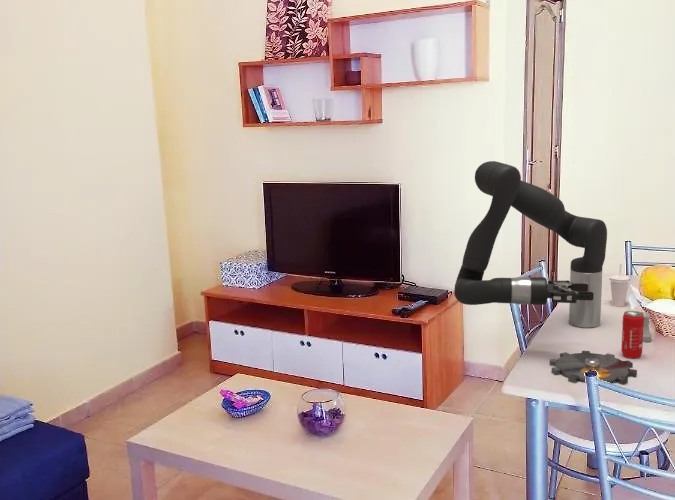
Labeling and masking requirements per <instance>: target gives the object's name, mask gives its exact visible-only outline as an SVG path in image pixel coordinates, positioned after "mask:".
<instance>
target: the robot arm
mask: <svg viewBox="0 0 675 500" xmlns="http://www.w3.org/2000/svg"><path fill="white" fill-rule="evenodd" d="M474 182H475V184H476V187H477V188H478V189H479V191H480V192H482V193H483V194H485V195H488V196H491V197H492V199H491V203H490V205H489V209H488V210H487V213H486V214H485V216H484V217H483V219H482V220H481V221H480V222H479V223H478V225H477V226H476V227H475V228H474V229H473V231H472V232H471V233H470V236H469V237H468V240H467V243H466V245H465V250H464V255H463V257H462V262H461V266H460V268H459V269H460V270H459V271H458V274H457V278H456V280H455V284H454V291H453V293H454V297H455V299H456V300H457V301H458V302H459V303H460V304H462V305H466V306H467V305H468V306H476V305H487V304H493V303H494V304H514V305H534V306H535V305H539V306H540V305H541V306H545V305H546V304H547V302H548V299H552V303H559V304H561V303H562V304H568V305H569V307H568V308H569V309H568V313H569V314H568V317H569V318H568V323H569V324H570V325H571V326H575V327H578V328H586V329H587V328H595V327H599V326H601V317H602V316H601V315H602V292H603V290H602V288H603V268H604V267H603V266H604V263H605V260H606V252H607V241H608V228H607V224H606V223H605V222H604V221H603V219H598V218H597V219H596V218H591V217H585V216H584V217H583V216H577V215H575V214H573V213H570V212H568V211H567V210H566V208H565V204H564V203H563V201H562V200H561V199H560V198H558V197H557V196H556V195H554V194H553V193H551V192H550V191H548V190H546V189H544V188H541V187H540V186H537V185H535V184H532V183H529V182H526V181H524V180H522V177H521V172H520V171H519V169H518V168H517V167H516V166H514V165H510V164H507V163H502V162H499V161H495V160H492V161H491V160H490V161H485V162H483V163H482V164H480V165H479V166H478V167H477V168H476V170H475V172H474ZM511 207H512V208H513V209H515V210H516V211H518V212H519V213H521V214H522V215H523V216H525V217H526V218H528V219H529V220H532V221H533V222H535V223H537V224H538V225H540V226H542V227H544V228H546V229H547V230H551V231H553V232H554V233H555V234H557V236H559V237H561V238H562V239H563V240H564V241H566V242H567V243H568V244H569V245H571V246H574V247H577V248H582V249H584V250H583V251H584V252H583V256H581V257H577V258H572V260H571V261H570V267H569V269H570V271H569V273H570V277H569V280H548V281H547V278H546V277H545V276H544V277H543V276H540V277H539V276H533V277H532V276H519V277H518V276H517V277H516V276H515V277H495V278H491V279H489V280H488V279H487V280H486V279H484V274H485V271H486V270H487V268H488V266H489V263H490V259H491V256H492V252H493V249H494V246H495V243H496V240H497V237H498V235H499V232H500V230H501V228H502V225H503V223H504V221H505V220H506V218H507V216H508V213H509V211H510V209H511Z"/></svg>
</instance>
